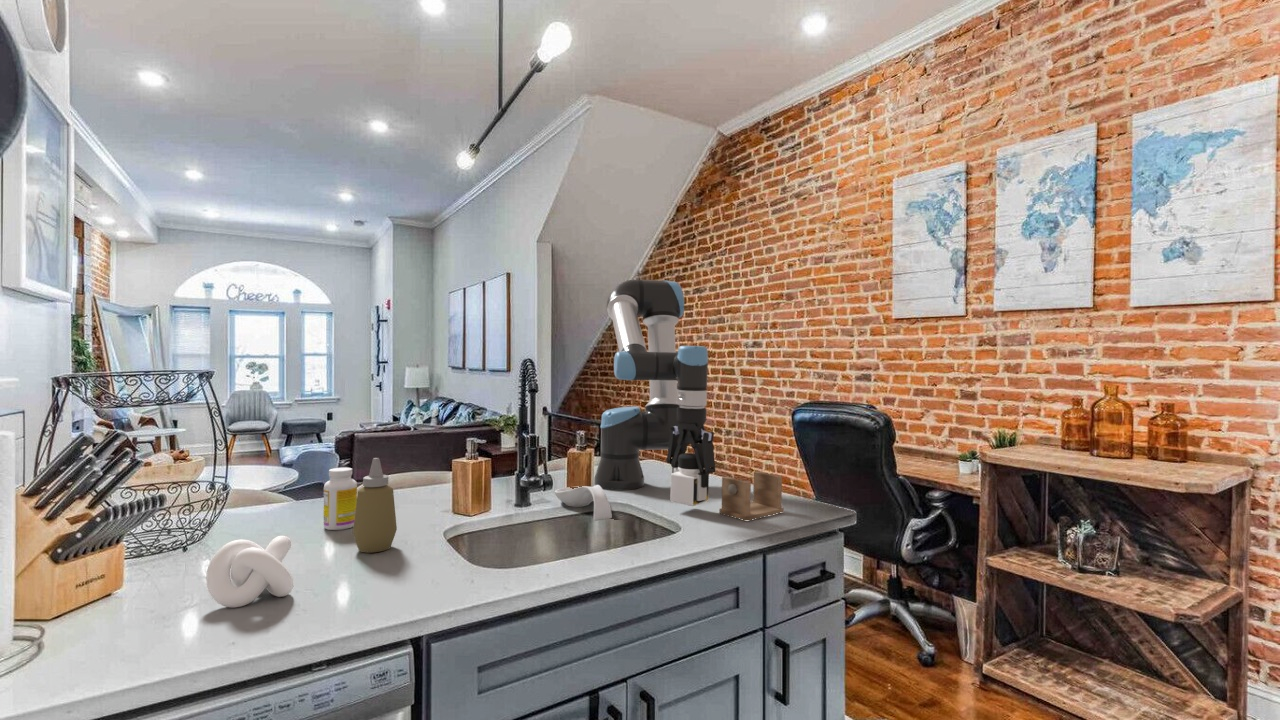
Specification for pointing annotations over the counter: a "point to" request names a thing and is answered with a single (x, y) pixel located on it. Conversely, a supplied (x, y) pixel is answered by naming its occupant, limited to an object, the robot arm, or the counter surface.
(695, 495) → the medicine bottle
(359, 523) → the squeeze bottle
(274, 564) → the white knot sculpture
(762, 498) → the holder
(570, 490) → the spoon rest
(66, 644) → the counter surface
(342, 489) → the supplement bottle
